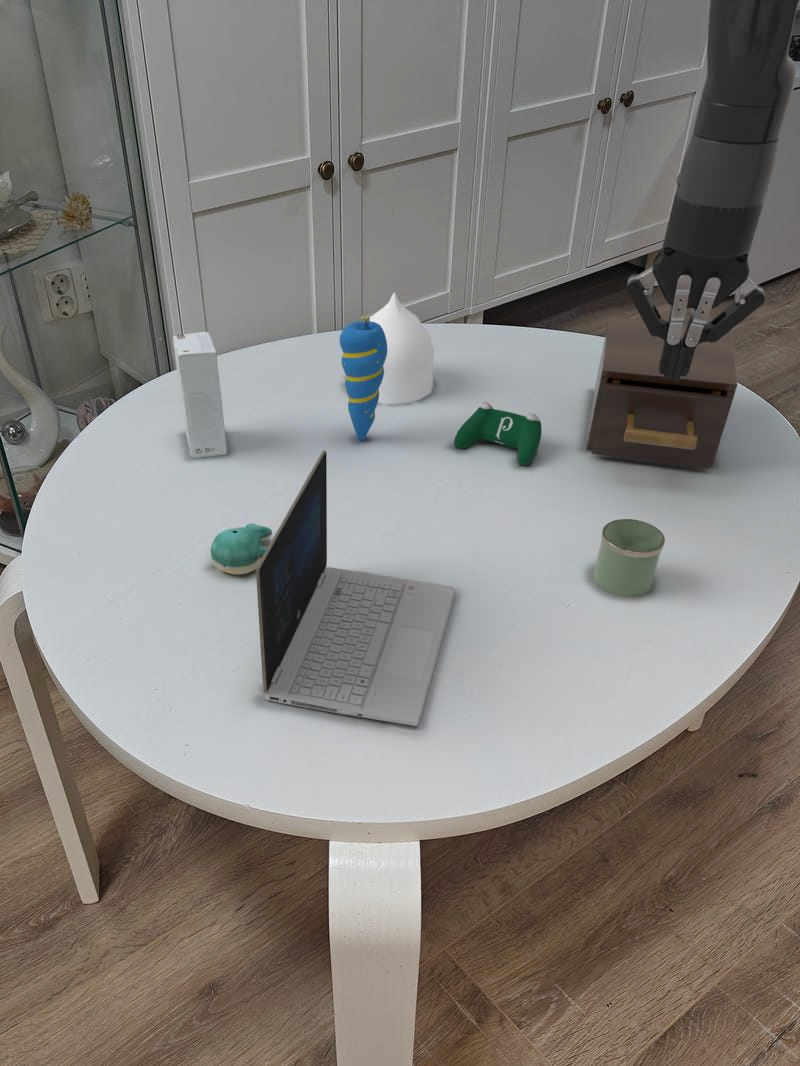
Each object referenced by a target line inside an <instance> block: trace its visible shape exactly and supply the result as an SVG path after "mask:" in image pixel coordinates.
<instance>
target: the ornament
mask: <svg viewBox="0 0 800 1066" xmlns="http://www.w3.org/2000/svg"><path fill="white" fill-rule="evenodd" d="M366 312H367V309H365V310H364V314H363V315H361V316H360V320H358V321H353V322H351V323H349V324H348V325H347V326H345V327H344V328H343V329H342V331H341V332H340V334H339V345H340V348H341V351H342V355H341V359H340V360H341V366H342V369H343V371H344V374H345V380H344V386H345V390H346V394H347V397H348V403H347V410H348V414H349V417H350V421H351V423H352V426H353V429H354V430H353V431H354V432H355V437H356V439H357V441H358V442H363V441H365V439H366V437H367V435H368V433H369V431H370V429H371V428H372V426H373V424H374V422H375V418H376V408H377V406H378V404H379V403H378V399H379V387H380V385H381V382H382V380H383V377H384V367H383V365H384V362H385V360H386V356H387V341H386V336H385V333H384V331H383V329H382V327H381V326H380V325H379V324H378V323H375V322H372V321H370V317H371V316H370V315H368V314H366Z"/></svg>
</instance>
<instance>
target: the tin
mask: <svg viewBox="0 0 800 1066" xmlns="http://www.w3.org/2000/svg"><path fill="white" fill-rule="evenodd" d="M600 538H601V540H600V544H599V549H598V553H597V557H596V562H595V565H594V570H593V575H592V577H593V581H594V583H595V584H596V586H598V587H599V588H600V589H602V590H603V591H605V592H607V593H609V594H611V595H615V596H618V597H628V598H629V597H631V598H632V597H637V596H643V595H644V594H646V593H648V592H649V591H650V590H651V587H652V584H653V581H654V577H655V574H656V571H657V566H658V564H659V560H660V556H661V553H662V551H663V550H664V547H665V542H666V539H665V536H664V534H663V532H662V531H661V530H660V529H659V528H658V527H656V526H655V525H653V524H651V523H649V522H646V521H642V520H638V519H633V518H621V519H614V520H612V521H609V522H608V523H606V524H605V525H604V526H603V528H602V531H601V535H600Z"/></svg>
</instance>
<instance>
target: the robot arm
mask: <svg viewBox="0 0 800 1066" xmlns="http://www.w3.org/2000/svg"><path fill="white" fill-rule="evenodd" d="M799 10H800V0H710V2H709V13H708V24H707V25H708V27H707V42H706V43H707V44H706V75H705V80H704V84H703V87H702V90H701V94H700V97H699V103H698V107H697V111H696V115H695V119H694V124H693V127H692V133H691V136H690V139H689V142H688V145H687V147H686V151H685V153H684V156H683V159H682V162H681V163H682V164H681V166H680V170H679V173H678V175H677V178H676V188H675V192H674V196H673V200H672V205H671V209H670V213H669V218H668V222H667V226H666V231H665V235H664V238H663V243H662V247H661V249H660V251H659V252H658V254H656V255H655V258H654V259H653V262H652V266H651V267H649V268H648V269H646V270H644V271H642V272H640V273H639V274H637V273H632V274H629V276H628V278H627V283H626V292H627V293H628V295H629V297H630V299H631V301H632V303H633V306H634V307H635V309H636V310H637V313H638V314H639V316H640V319H642V321H644V323H645V325H646V327H647V329H648V331H649V332H650V334H651V335H652V336H654V337H657V336H658V337H660V338H662V339H663V340H664V346H663V350H662V354H661V358H660V362H659V371H660V374H664V380H667V381H676V382H679V380H680V376H684V377H685V376H686V375H687V374H688V372H689V369H690V366H691V362H692V358H693V355H694V351H695V348H696V346H697V345H698V344H700V343H703V342H707V341H708V342H710V343H714V342H716V341H718V340H719V339H720V338H721V337H723V336H724V335H725V334H726V333H728V332H729V331H730V332H731V331H732V330H733V329H734V328H735V327H737V326H738V325H739V324H741V322H743V321H744V320H746V318H748V317H749V316H750V315H751V314H753V313H754V312H755V311H757V310H758V309H759V308H760V307H762V306H763V305H764V303H765V301H766V297H765V291H764V288H763V287H762V286H761V285H760V284H756V283H755V282H754V281H753V280H752V279H751V277H749V275H750V266H749V254H750V251H751V248H752V244H753V241H754V238H755V234H756V231H757V227H758V224H759V220H760V217H761V213H762V210H763V207H764V204H765V201H766V197H767V193H768V191H769V190H768V189H769V186H770V183H771V179H772V176H773V172H774V169H775V164H776V158H777V151H778V145H779V142H780V138H781V134H782V130H783V127H784V123H785V121H786V118H787V113H788V110H789V107H790V103H791V100H792V96H793V92H794V89H795V84H796V79H797V65H796V63H795V61H794V60H793V59H792V57H790V56H789V51H790V46H791V41H792V35H793V30H794V25H795V20H796V16H797V12H798V11H799ZM654 281H656V283H657V285H658V287H659V289H660V291H661V293H662V296H663V297H664V299H665V301H666V303H667V304H668V305H670V308H669V309H670V310H669V317H668V321H667V320H665V319H664V318H663V317H662V315H661V314H660V311H659V309H658V308H657V306H656V304H655V302H654V300H653V298H652V296H651V295H652V294H653V293H654V284H653V283H654ZM734 292H736V293H734ZM733 293H734V301H733V302H731V303H730V304H729V305H728V306H727V307H726V308H724V309H723V310H722V311H721V312H719V313H718V314H717V315H716V316H715V317H713V318H712V319H711V320H710V321H709V322H707V321H708V320H709V316H710V313H711V310H712V309H715V308H716V307H718V306H720V304H722V303H723V302H724V301H725V300H726V299H727V298H729V296H731V295H732V294H733ZM687 309H691V311H690V314H689V315H690V316H689V318H688V320H687V321H688V322H687V323H686V325H687V327H686V330H685V333H684V337H683V338H681V333H682V327H683V324H684V322H685V318H686V313H687ZM680 338H681V339H680Z"/></svg>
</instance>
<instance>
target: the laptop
mask: <svg viewBox="0 0 800 1066" xmlns="http://www.w3.org/2000/svg"><path fill="white" fill-rule="evenodd" d="M327 460H328V459H327V451H326V450H325V449H323V450H322V451H321V453H320V455H319V457H318V458H317V460H316V462H315V463H314V465H313V467H312V469H311V471H310V472H309V474H308V475H307V478H306V479H305V481H304V482H303V485H302V486H301V489H300V490H299V492H298V493H297V495H296V497H295V499H294V501H293V502H292V504H291V506H290V507H289V509H288V511H287V512H286V515H285V516H284V518H283V520H282V521H281V523H280V525H279V527H278V529H277V531H276V532H275V534H274V536H273V537H272V539H271V541H270V543H269V545H268V546H267V547H268V548H267V550H266V552H265V553H264V555H263V557H262V559H261V560H260V562H259V564H258V566H257V568H256V569H255V576H256V577H255V579H256V594H257V595H256V596H257V612H258V613H257V614H258V626H259V643H260V645H259V646H260V659H261V661H260V662H261V675H262V676H261V677H262V691H263V692H262V693H263V694H265V693H266V695H265V700H266V701H270V702H275V703H279V704H285V705H290V706H296V707H301V708H307V709H311V710H319V711H323V712H330V713H336V714H340V715H347V716H353V717H358V718H363V719H364V718H365V719H371V720H375V721H376V720H377V721H383V722H388V723H396V724H400V725H407V726H414V727H418V726H419V724H420V721H421V717H422V714H423V710H424V706H425V703H426V699H427V697H428V691H429V688H430V685H431V681H432V677H433V674H434V670H435V666H436V663H437V659H438V655H439V652H440V649H441V645H442V642H443V638H444V634H445V630H446V627H447V623H448V620H449V615H450V612H451V609H452V605H453V602H454V598H455V593H456V588H455V587H454V586H449V585H443V584H437V583H430V582H425V581H418V580H417V581H416V580H412V579H406V578H398V577H393V576H386V575H381V574H374V573H368V572H363V571H362V572H361V571H355V570H348V569H341V568H338V567H337V568H336V567H329V566H327V563H328V517H327V516H328V514H327V511H328V509H327V508H328V507H327V506H328V502H327V501H328V498H327V497H328V496H327V495H328V493H327V491H328V489H327V487H328V486H327V484H328V483H327V482H328V481H327V479H328V478H327V466H328V465H327V464H328V463H327Z"/></svg>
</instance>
